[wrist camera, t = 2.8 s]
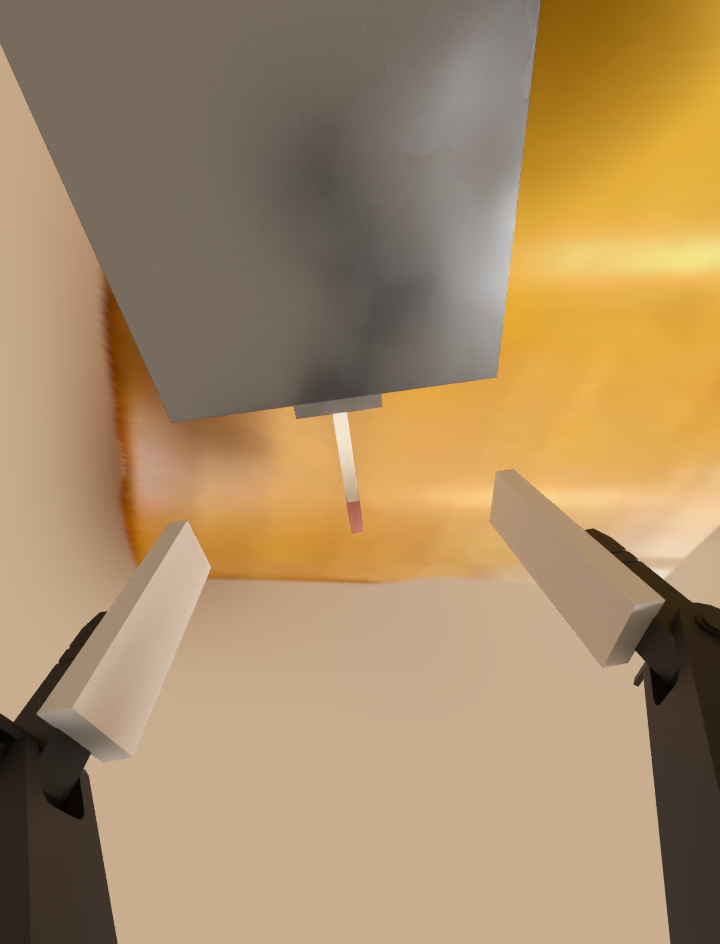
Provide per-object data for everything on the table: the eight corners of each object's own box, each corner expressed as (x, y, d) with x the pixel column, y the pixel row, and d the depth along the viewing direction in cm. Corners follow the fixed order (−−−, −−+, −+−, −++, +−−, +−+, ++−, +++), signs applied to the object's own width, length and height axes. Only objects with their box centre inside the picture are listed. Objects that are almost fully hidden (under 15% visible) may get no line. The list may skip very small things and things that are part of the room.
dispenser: (201, 119, 17) (-362, -710, 3) (382, 99, 17) (624, -725, 3) (264, 362, 23) (178, 453, 10) (394, 344, 24) (493, 408, 10)
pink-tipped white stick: (283, 87, 12) (251, -75, 7) (299, 85, 12) (280, -77, 7) (344, 475, 21) (351, 533, 16) (353, 474, 21) (363, 531, 16)
